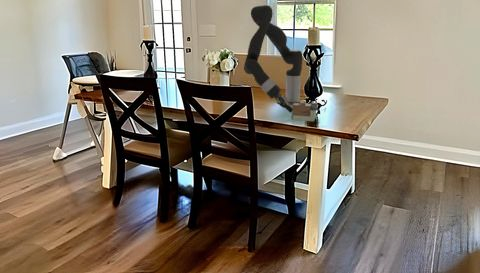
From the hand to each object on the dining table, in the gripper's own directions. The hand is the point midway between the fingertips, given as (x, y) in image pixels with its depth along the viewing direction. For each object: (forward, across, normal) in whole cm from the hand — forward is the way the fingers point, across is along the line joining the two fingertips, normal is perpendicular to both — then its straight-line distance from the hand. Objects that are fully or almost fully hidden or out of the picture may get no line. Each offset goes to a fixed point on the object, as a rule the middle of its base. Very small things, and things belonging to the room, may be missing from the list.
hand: (291, 111), depth 231 cm
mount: (+8, 0, -2) cm, 8 cm away
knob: (+7, -2, -10) cm, 13 cm away
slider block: (+7, 0, -1) cm, 7 cm away
